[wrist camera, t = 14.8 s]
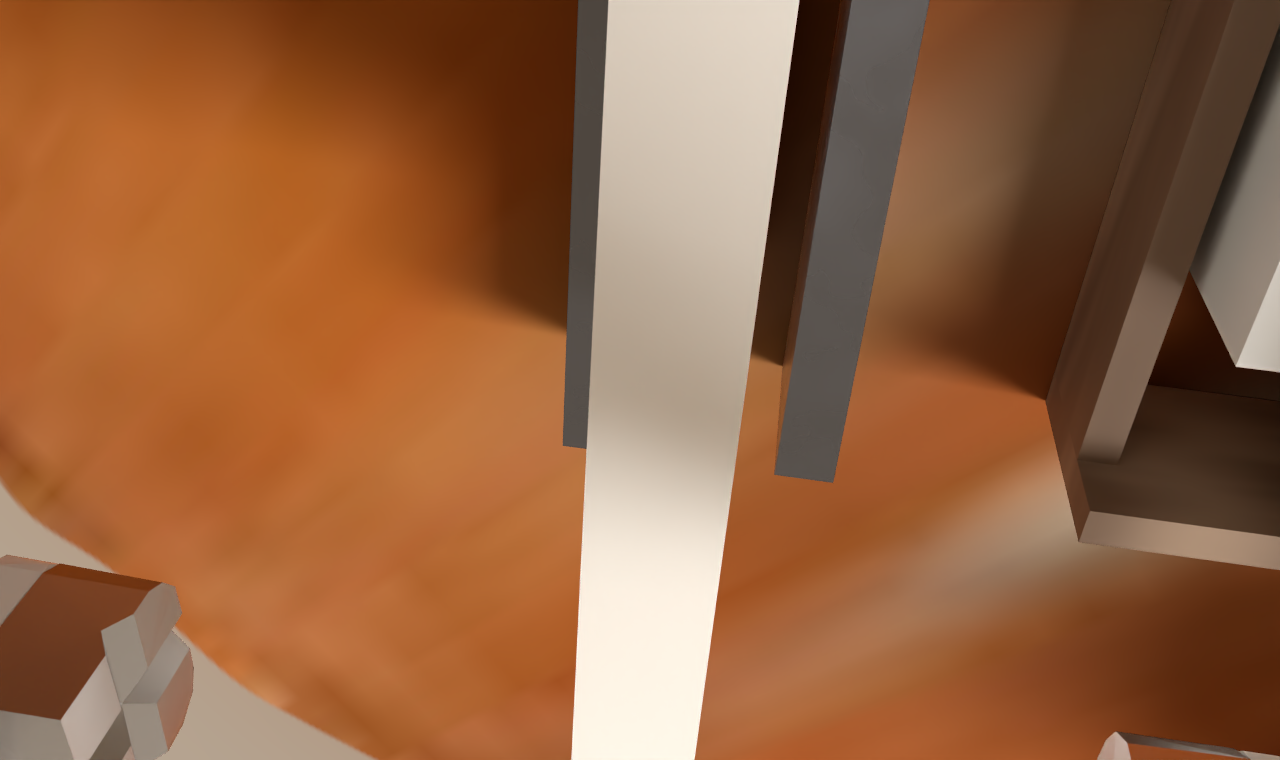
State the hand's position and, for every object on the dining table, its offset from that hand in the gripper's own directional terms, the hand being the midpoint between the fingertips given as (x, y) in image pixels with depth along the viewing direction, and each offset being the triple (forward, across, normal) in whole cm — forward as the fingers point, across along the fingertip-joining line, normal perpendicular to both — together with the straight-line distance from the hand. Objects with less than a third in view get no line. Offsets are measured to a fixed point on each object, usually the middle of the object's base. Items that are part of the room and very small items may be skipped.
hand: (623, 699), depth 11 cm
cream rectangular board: (+22, 0, 0) cm, 22 cm away
